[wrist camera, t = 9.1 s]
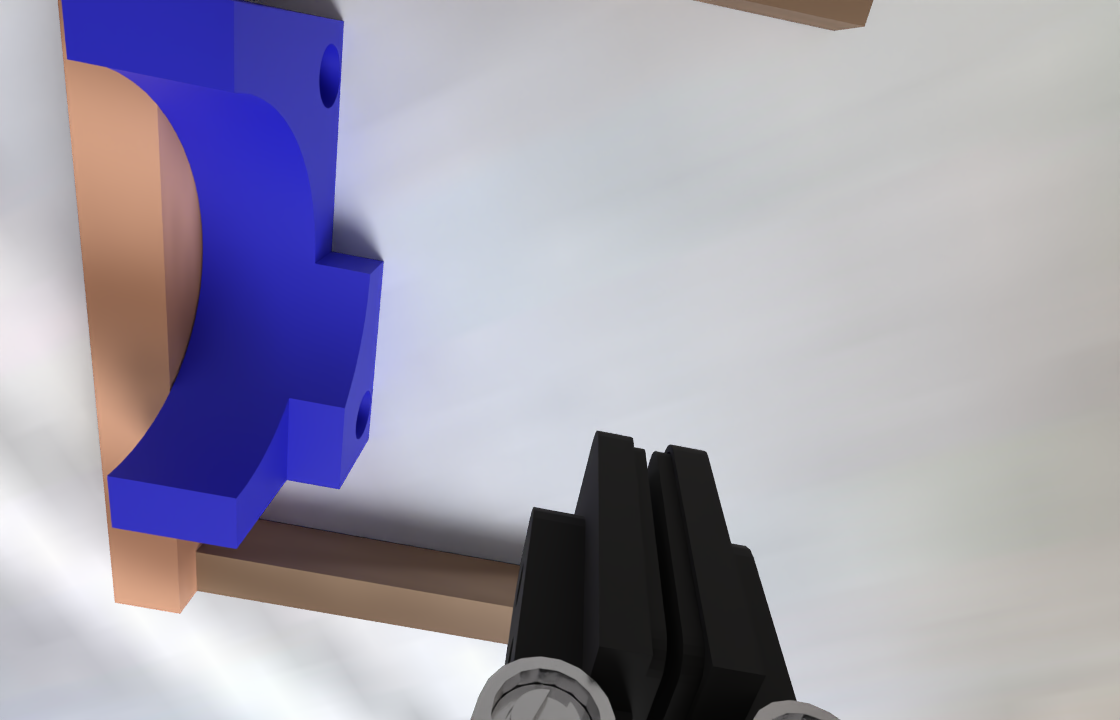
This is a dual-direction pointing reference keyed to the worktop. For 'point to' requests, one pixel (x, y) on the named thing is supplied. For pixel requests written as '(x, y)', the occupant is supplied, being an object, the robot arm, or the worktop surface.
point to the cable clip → (246, 263)
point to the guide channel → (158, 352)
